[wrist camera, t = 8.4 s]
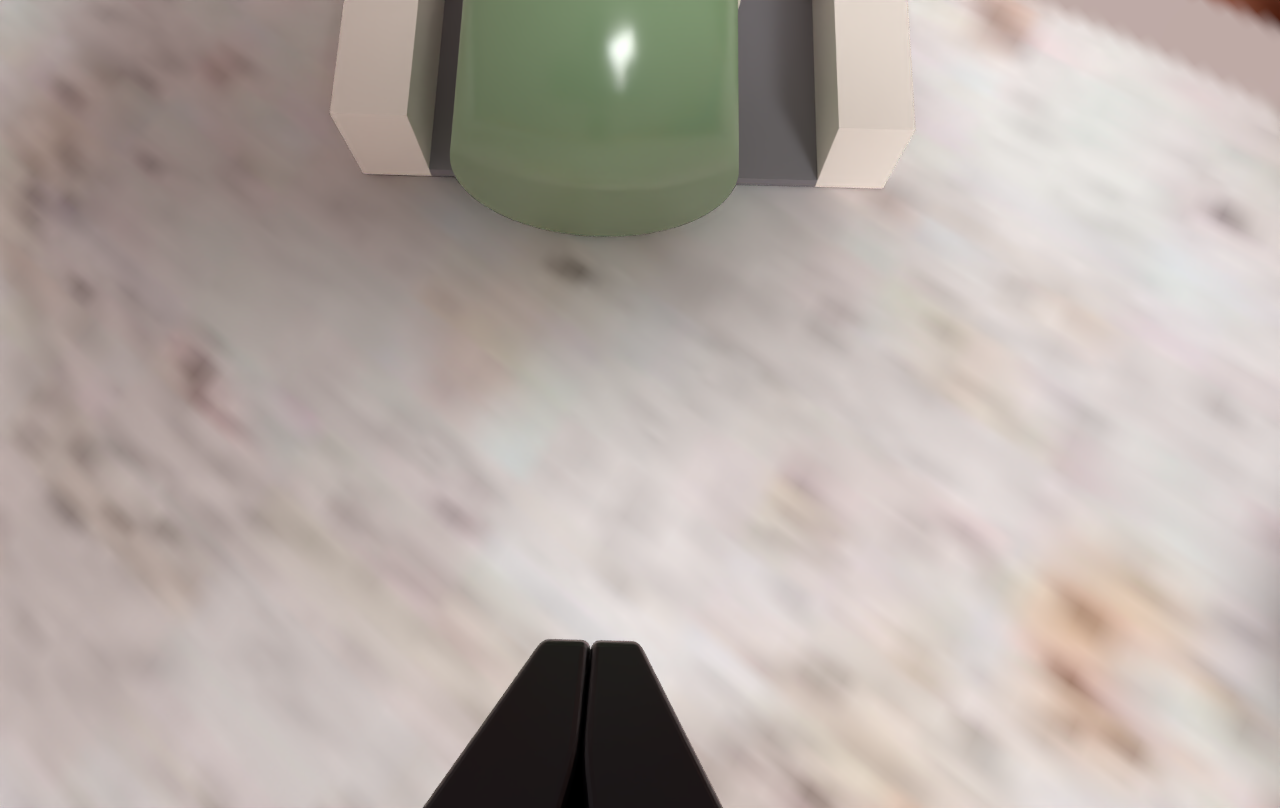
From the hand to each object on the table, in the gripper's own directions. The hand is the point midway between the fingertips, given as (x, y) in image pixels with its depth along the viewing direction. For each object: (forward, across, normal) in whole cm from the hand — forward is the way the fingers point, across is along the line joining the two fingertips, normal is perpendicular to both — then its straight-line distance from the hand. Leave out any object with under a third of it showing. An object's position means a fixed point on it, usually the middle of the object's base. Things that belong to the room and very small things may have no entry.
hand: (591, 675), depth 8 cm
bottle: (+12, +1, -1) cm, 12 cm away
